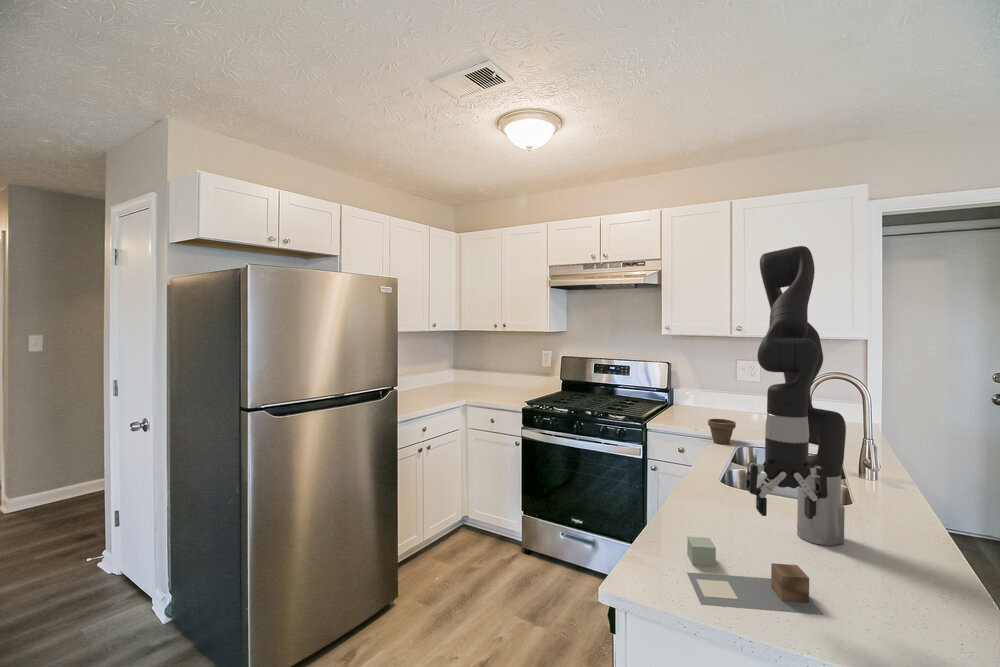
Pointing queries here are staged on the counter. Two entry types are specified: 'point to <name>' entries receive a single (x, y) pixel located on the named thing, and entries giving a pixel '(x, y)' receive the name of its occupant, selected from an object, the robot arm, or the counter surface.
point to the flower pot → (721, 430)
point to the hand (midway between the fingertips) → (785, 516)
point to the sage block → (701, 551)
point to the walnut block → (790, 583)
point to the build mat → (744, 593)
